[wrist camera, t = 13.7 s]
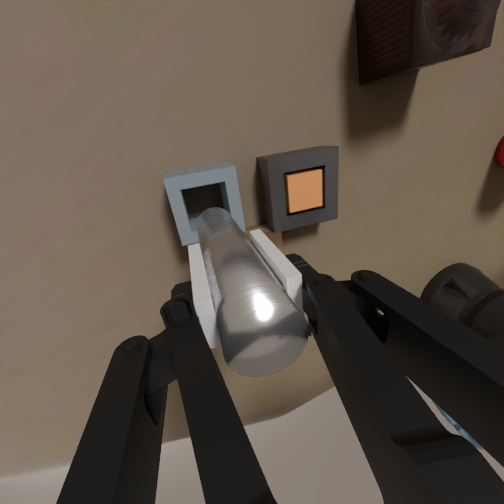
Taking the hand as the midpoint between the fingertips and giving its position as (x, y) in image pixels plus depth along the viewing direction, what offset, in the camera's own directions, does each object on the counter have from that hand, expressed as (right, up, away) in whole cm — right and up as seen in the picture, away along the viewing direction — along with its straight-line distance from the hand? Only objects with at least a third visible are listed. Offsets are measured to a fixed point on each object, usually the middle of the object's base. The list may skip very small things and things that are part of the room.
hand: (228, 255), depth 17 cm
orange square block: (+8, +10, +20) cm, 23 cm away
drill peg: (-2, +3, +6) cm, 7 cm away
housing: (+8, +10, +21) cm, 24 cm away
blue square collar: (-5, +8, +18) cm, 20 cm away
